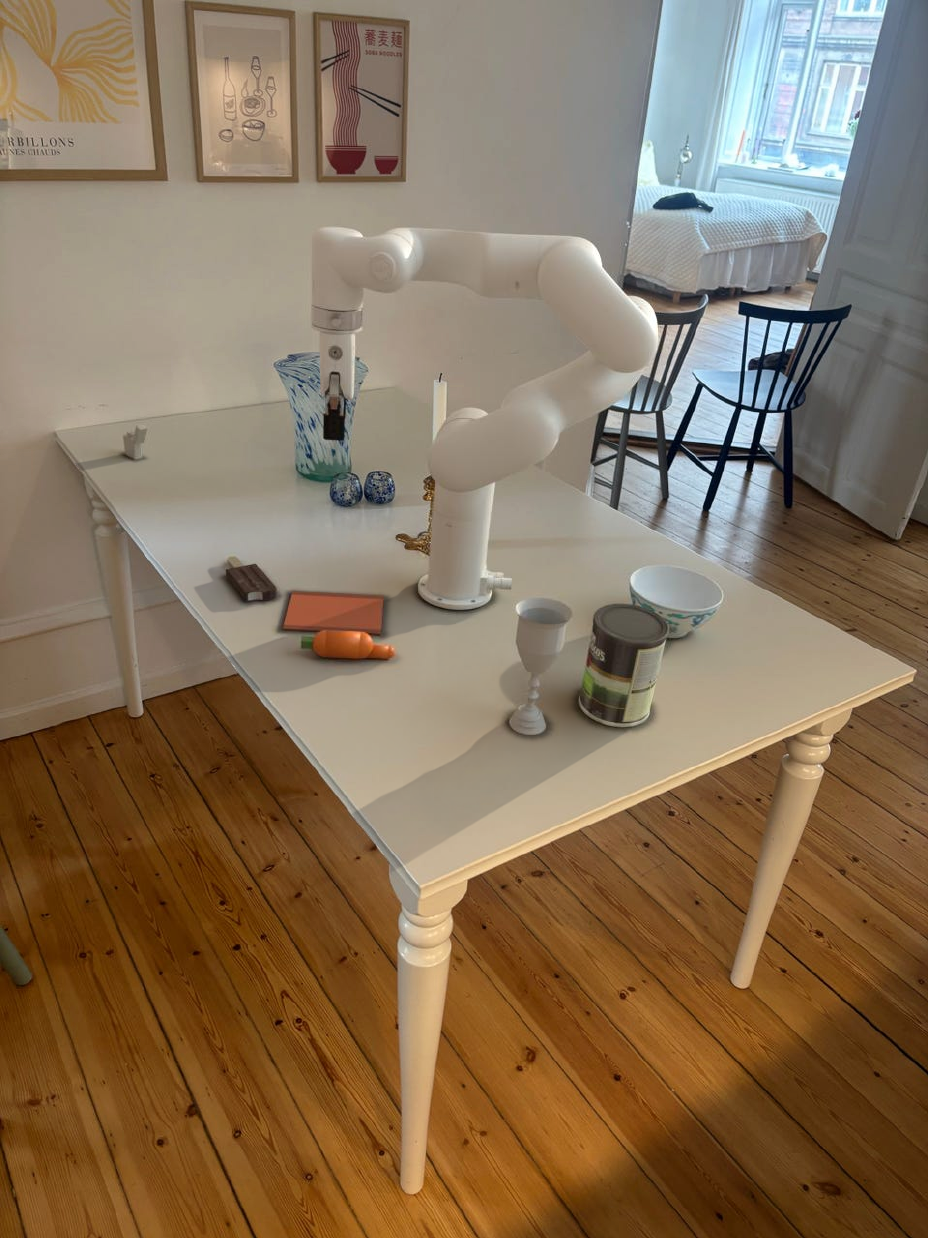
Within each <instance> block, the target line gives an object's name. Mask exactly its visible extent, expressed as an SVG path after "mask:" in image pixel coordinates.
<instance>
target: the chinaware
mask: <svg viewBox="0 0 928 1238" xmlns="http://www.w3.org/2000/svg"><path fill="white" fill-rule="evenodd" d="M629 595H630V599H631V602H632V605H637V606H640V607H644V608H647V609H649V610H651V611H653V612H655V613H657V614H659V615H660V616H661V617H663V618H664V619H665V620H666V622H667V623H668V626H669V634H668V637H667V638H669V639H678V638H682V637H685V636H686V635H687V634H688V633H690V632H692V631H695V630H697V629H699V628H700V627H703V626H704V625H706V624H707V623H708V622H709V621H710V620H711V619H712V618H713V616H714V615H715V614H716V613H717V612H718V609H719V608H720V606H721V605H722V602H723V601H724V592H723V589H722V587H720V585H719V584H718V583H717V582H715V580H713V579H711V578H710V577H708V576H707V575H705V574H702V573H700V572H698V571H696V570H693V569H689V568H686V567H682V566H676V565H667V564H665V565H664V564H657V565H656V564H655V565H647V566H644V567H640V568H638V569H636V570H634V572H632V573H631V575H630V577H629Z"/></svg>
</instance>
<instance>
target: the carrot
mask: <svg viewBox="0 0 928 1238" xmlns="http://www.w3.org/2000/svg"><path fill="white" fill-rule="evenodd" d="M300 649H301V650H313V651H314V652H315V653H316V655H318V656H320V657H322V658H339V659H356V660H357V659H359V660H360V659H365V658H366V659H384V660H389V659H392V658H393V657H394V656H395V655H396V650H395V648H394V647H393V646H392V645H389V644H388V645H387V644H374V640H373V638H372V636H371V635H368V634H367V633H365V632H357V631H336V630H323V631H320V632H316V634H315V635H313V636H308V635H302V636H301V638H300Z"/></svg>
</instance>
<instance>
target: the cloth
mask: <svg viewBox="0 0 928 1238" xmlns="http://www.w3.org/2000/svg"><path fill="white" fill-rule="evenodd" d="M383 607H384V595H379V594H377V595H376V594H359V593H358V594H357V593H343V592H342V593H339V592H323V591H321V592H320V591H302V590H292V591H291V595H290V599H289V603H288V607H287V611H286V615H285V619H284V623H283V627H282V631H289V632H290V631H291V632H307V633H308V632H309V633H318V632H320V631H323V630H336V631H357V632H365V633H367V634H368V635H369V636H381V635H382V634H381V633H382V621H383V609H384V608H383Z"/></svg>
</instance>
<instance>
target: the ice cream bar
mask: <svg viewBox="0 0 928 1238" xmlns="http://www.w3.org/2000/svg"><path fill="white" fill-rule="evenodd" d="M227 562H228V564H229V565H230V568H226V569H225V576H226V578H227V579H228V580H229V582H230V583H231V584H232V586H233V587H234V588H235V589H236V591H237V593H239V594H240V596H241V597H242V598H243V600H244V601H245V602H253V601H263V602H265V601H270V600H274V599H275V598H276V597H277V586H276V585H275V584H274V583H273V582H272V581H271V579H270V578H269V577H268V576H267V575H266V573H265V572H263V570H262V569H261V568H260V567H259V565H258V564H257V563H251V564H246V565H245V564H243V563H242V561H241V560H240V559H239V558H238V557H237V556H235V555H232V556H228V557H227Z"/></svg>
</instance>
